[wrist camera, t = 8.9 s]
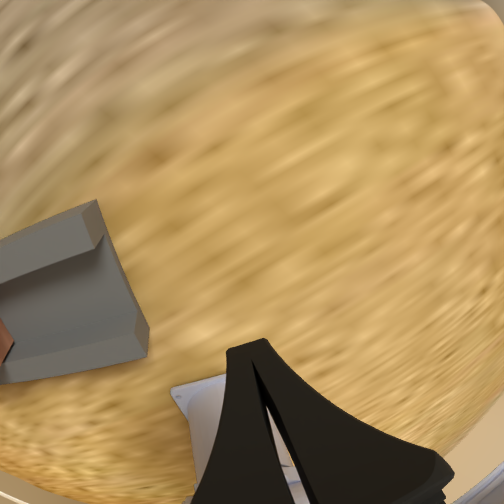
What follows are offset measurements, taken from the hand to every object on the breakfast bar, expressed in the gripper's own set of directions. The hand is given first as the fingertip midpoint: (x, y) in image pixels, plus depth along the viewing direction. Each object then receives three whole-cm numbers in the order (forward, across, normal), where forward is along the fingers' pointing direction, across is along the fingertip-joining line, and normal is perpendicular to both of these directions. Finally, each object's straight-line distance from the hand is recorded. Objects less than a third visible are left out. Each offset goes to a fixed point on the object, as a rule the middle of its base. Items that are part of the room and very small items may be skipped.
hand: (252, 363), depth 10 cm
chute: (+10, +15, 0) cm, 18 cm away
